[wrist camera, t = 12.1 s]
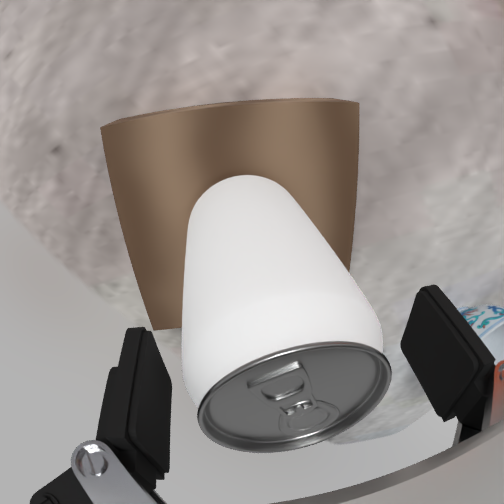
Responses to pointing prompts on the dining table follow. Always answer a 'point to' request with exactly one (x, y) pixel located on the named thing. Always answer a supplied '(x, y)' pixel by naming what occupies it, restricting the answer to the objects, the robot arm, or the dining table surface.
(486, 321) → the chinaware
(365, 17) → the dining table surface
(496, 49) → the dining table surface
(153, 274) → the base
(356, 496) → the robot arm
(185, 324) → the can
